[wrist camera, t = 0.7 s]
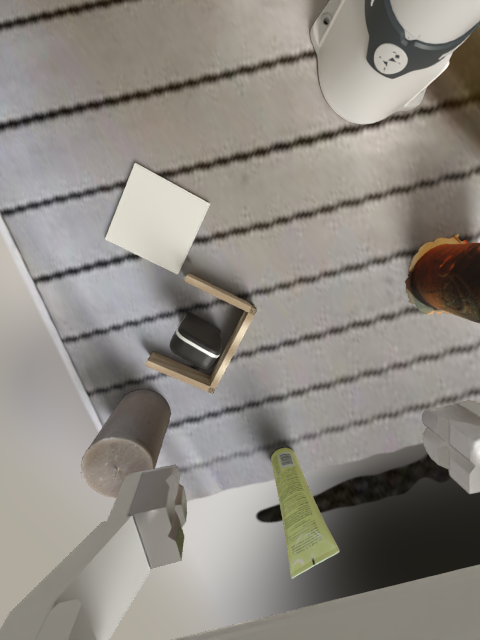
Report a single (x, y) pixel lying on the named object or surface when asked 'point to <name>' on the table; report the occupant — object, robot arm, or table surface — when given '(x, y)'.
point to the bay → (212, 381)
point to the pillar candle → (126, 442)
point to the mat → (156, 219)
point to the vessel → (446, 278)
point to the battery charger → (196, 341)
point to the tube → (300, 515)
